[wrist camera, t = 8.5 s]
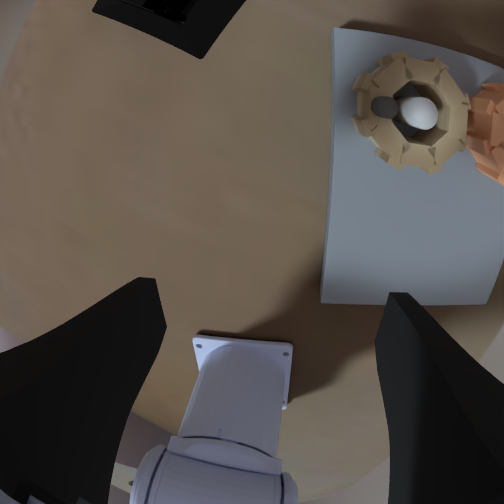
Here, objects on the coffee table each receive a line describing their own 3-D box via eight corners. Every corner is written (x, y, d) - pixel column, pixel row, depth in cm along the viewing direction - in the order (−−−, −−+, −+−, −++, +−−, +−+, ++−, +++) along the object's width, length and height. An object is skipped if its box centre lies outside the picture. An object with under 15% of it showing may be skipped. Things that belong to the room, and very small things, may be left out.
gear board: (478, 292, 18) (502, 331, 15) (319, 289, 20) (322, 335, 16) (519, 80, 11) (562, 85, 7) (330, 33, 13) (342, 12, 9)
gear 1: (442, 166, 14) (475, 187, 10) (348, 155, 14) (363, 173, 11) (448, 70, 11) (485, 67, 8) (350, 51, 12) (366, 37, 8)
